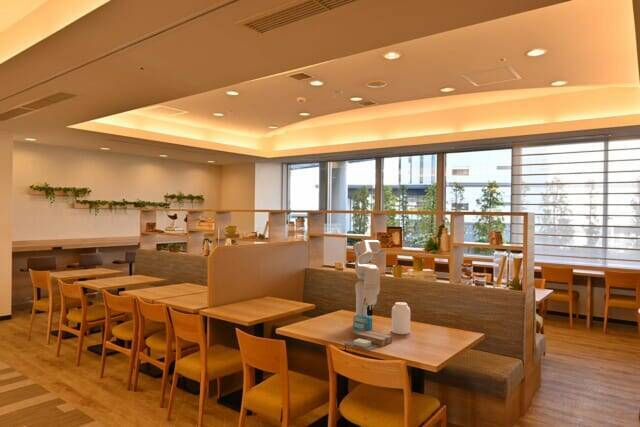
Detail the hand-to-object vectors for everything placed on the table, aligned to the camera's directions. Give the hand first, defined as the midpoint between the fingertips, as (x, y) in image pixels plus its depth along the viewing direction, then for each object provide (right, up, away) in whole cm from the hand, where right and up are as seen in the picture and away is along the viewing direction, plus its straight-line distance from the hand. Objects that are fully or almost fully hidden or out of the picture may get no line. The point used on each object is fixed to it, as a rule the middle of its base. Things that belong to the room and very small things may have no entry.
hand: (369, 315), depth 273 cm
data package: (-3, -17, +18) cm, 25 cm away
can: (+24, -17, +24) cm, 38 cm away
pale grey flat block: (-5, -14, -7) cm, 16 cm away
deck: (+3, -17, +3) cm, 17 cm away
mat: (-5, -17, -6) cm, 19 cm away
